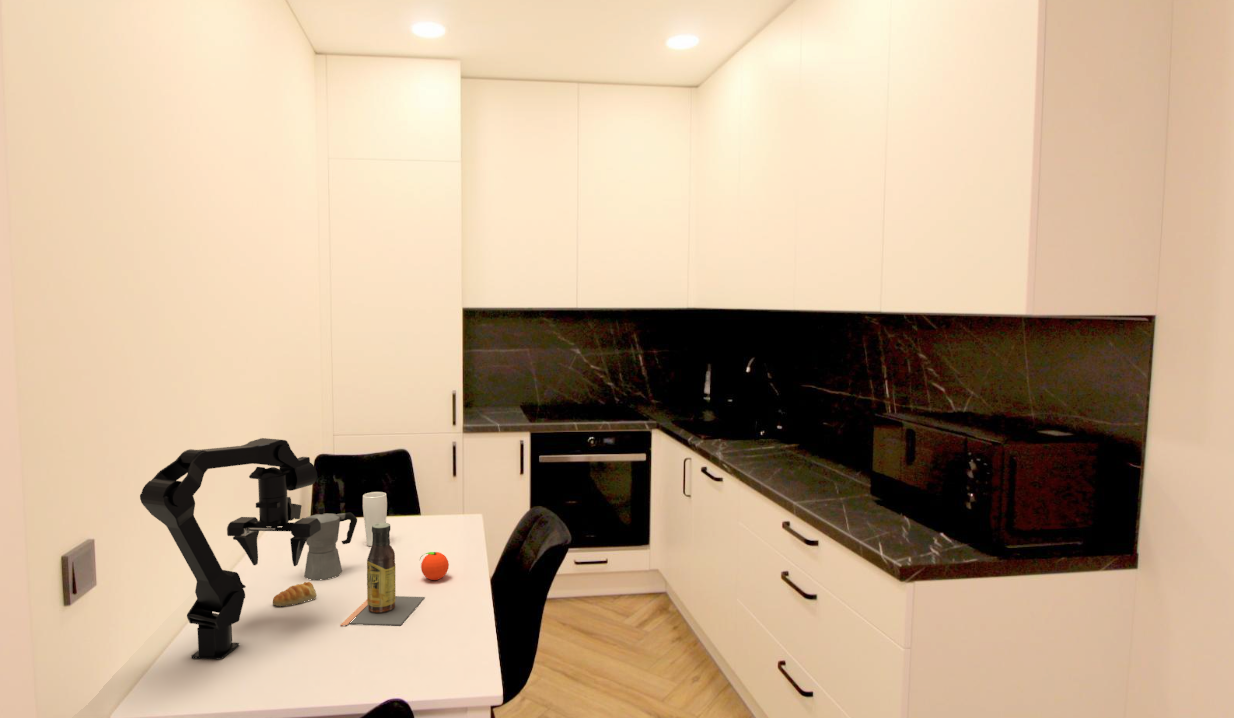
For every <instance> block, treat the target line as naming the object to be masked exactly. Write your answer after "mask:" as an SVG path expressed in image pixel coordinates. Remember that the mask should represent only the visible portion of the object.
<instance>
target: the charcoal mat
mask: <svg viewBox="0 0 1234 718" xmlns="http://www.w3.org/2000/svg"><path fill="white" fill-rule="evenodd" d="M424 599H425V596H405V595H404V596H401V595H400V596H399V595H397V596H396V595H395V607H394V608H393V609H392V610H390V611H387V612H381V613H375V612H371V611H370V610H369V609H368V606H367V607H366V608H365V609H364V610H363V611H362V612H361V613H360V614H359V615H358V616H357V617H356V618H355V619H354V620H353V621H352V622H351V623H350V624H349V625H351V624H363V625H364V626H390V625H391V627H392V626H394V625H396V626H394V627H397V626H399V627H401V626H402V625H403V624H404V623H405V622H404V621H407V619H408V618H409V617H410V616H411V615H412V613H413V612H414V611H415V610H416V609H417V608H418V606H419V605H421V603H422V602H423V601H424ZM416 607H417V608H416ZM415 608H416V609H415ZM410 614H411V615H410ZM409 615H410V616H409Z"/></svg>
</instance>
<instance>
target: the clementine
mask: <svg viewBox="0 0 1234 718" xmlns="http://www.w3.org/2000/svg"><path fill="white" fill-rule="evenodd" d="M425 555H426V556H424V554H422V555H421V556H420V558H419V560H421V559H422V557H423V556H424V557H423V559H422V561H421V564H420V568H421V573H422V575H423V576H424V577H425V578H427V579H428V580H432V581H437V580H441V579H442V578H443V577H445V575H446V574H447V572H448V571H449V566H450V564H449V560H448V558H447V556H445V554H443V553H442V552H440V551H439V552H438V551H428V552H426V553H425Z"/></svg>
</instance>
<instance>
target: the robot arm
mask: <svg viewBox="0 0 1234 718" xmlns="http://www.w3.org/2000/svg"><path fill="white" fill-rule="evenodd" d="M310 460H311V459H310V457H308V456H300V457H297V456H296V454H295V453H294V452H293V449H291V445H290V444H289V442H288V441H287V440H286V439H279V438H277V439H276V438H268V437H267V438H266V437H265V438H263V437H260V438H258V439H254V440H251V441H249V442H247V443H245V444H242V445H236V446H235V445H234V446H225V447H215V448H204V449H191V448H190V449H186V450H184V451H183V452H181V453H180V455H179V456H178V457H177V458H176V459H175V460H174V461H173V462H171V463H170V464H168V465H167V466H165V467H164V468H162V469H161V470H159V471H158V472H157V474H155V475H154V477H152V479H150V480H149V481H148V482H147V483H146V484H145V485H144V486H143V488H142V491H141V493H140V495H139V499H140V503H141V504H142V505H143V507H144V508H145V509H146V510H147V511H148V512H149V513H150V514H151V515H152V516H153V517H154V518H155V519H157V520H158V521H160V522H161V523H162V524H164V525H165V526H166V528H167V530H168V532H169V533H170V536H171V537H172V539H173V540H174V542H175V544H176V546H177V547H178V549H179V551H180V553H181V555H182V557H183V559H184V560H185V562H186V564H187V565H188V567H189V570H190V571H191V573H192V574H193V576H194V578H195V580H196V585H195V591H194V592H195V597H196V600H195V602H194V603H193V605H192V606H191V608H190V610H189V611H188V612H187V614H186V618H187V620H188V622H189V624H193V625H198V627H197V646H198V649H197V651H195V652H194V653H193V654H191V655H190V656H191V657H190V658H191V659H200V660H201V659H202V660H203V659H205V660H206V659H207V660H209V659H210V660H221V659H224V658H225V657H227V655H229V654H230V653H232V652H233V651H234V650H235V649H236V648H238V647H239V646H240V642H233V629H232V628H233V627H232V625H234V624H236V623H238V622H240V618H241V615H242V614H241V613H242V611H243V610H242V609H243V606H244V602H245V599H246V592H245V590H244V589H246V587H247V586H246V585H245V584H243V581H242V580H241V577H240V575H239V573H238V572H237V571H230V570H226V569H223V568H222V566H221V564H220V563H219V561H218V559H217V557H216V555H215V553H214V551H213V549H212V547H211V546H210V544H209V542H208V540H207V538H206V536H205V535H204V533H203V531H202V529H201V527H200V524H199V523H198V522H197V520H196V518H195V515H194V514H195V507H196V502H195V500H196V499H195V497H194V496H195V494H196V493H197V492H198V490H200V488H201V485H202V483H203V478H204V475H205V473H206V472H207V471H208V470H211V469H218V468H227V467H236V466H244V465H253V464H254V465H264V466H271V467H267V468H265V467H264V466H262V467H261V466H255V469H254V471H252V472H251V473H250V474H249V476H248V477H249V479H252V480H257V481H258V482H257V483H258V489H257V490H258V501H257V502H256V503H255V508H257V509H258V510H259V514H258V515H259V519H258V518H257V517H255V516H241V517H238V518H236V519H234V520H232V521H230V522H229V523H228V524H227V527H226V535H227V536H228V537H232V539H233V541H234V540H235V541H237V543H238V544H239V545H240V546H241V548H242V549H243V550H244V552H245V553H246V555H247V557H248V559H249V561H251V562H250V563H252V566H257V565H259V564H258V563H259V553H258V552H259V549H258V537H259V534H260V532H291V533H290V534H291V535H292V536H293V537H291V538H289V539H290V550H291V559H292V564H293V566H294V567H296V566H299V561H300V559H301V556H302V552H303V550H304V547H305V545H306V544H307V543H306V541H307V539H308V538H309V537H311V536H312V535H314V534H315V533H317V532H318V531H320V530H321V523H320V521H319V520H318V519H317V518H306V517H302V518H301V513H302V507H303V506H302V505H301V504H297V503H292V498H291V496H288V491H289V492H290V491H295V490H298V489H302V488H305V487H309V486H312V485H314V484H315V483H316V481H317V480H318V471H317V469H316V467H315V465H314V464H313V463H312V462H311V461H310ZM277 467H279V468H277ZM185 475H186V476H185ZM184 476H185V477H184ZM182 477H184V478H183V479H182V480H179V479H181V478H182ZM294 519H295V520H296V521H297V522H296V521H295V522H289V521H293V520H294Z"/></svg>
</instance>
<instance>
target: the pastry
mask: <svg viewBox="0 0 1234 718" xmlns="http://www.w3.org/2000/svg"><path fill="white" fill-rule="evenodd" d="M316 591H317V590H316V589H315V587H314V584H313V583H312V582H310V581H307V582H306V581H304V582H303V583H299V584H298V583H297V584H296V585H291V586H289V587H288V588H286V589H285V590H282V591H281V592H279V593H278V594H276V595H275V596H274V597H273V598H272V605H274V606H277V607H280V608H282V607H281V606H285V607H287V606H286V605H291V606H293V605H292V604H297V605H299V604H298V603H301V602H304V601H308V600H311V599H314V598H315V599H316V598H317V592H316ZM315 599H314V600H315ZM308 602H309V601H308ZM301 604H302V603H301Z"/></svg>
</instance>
